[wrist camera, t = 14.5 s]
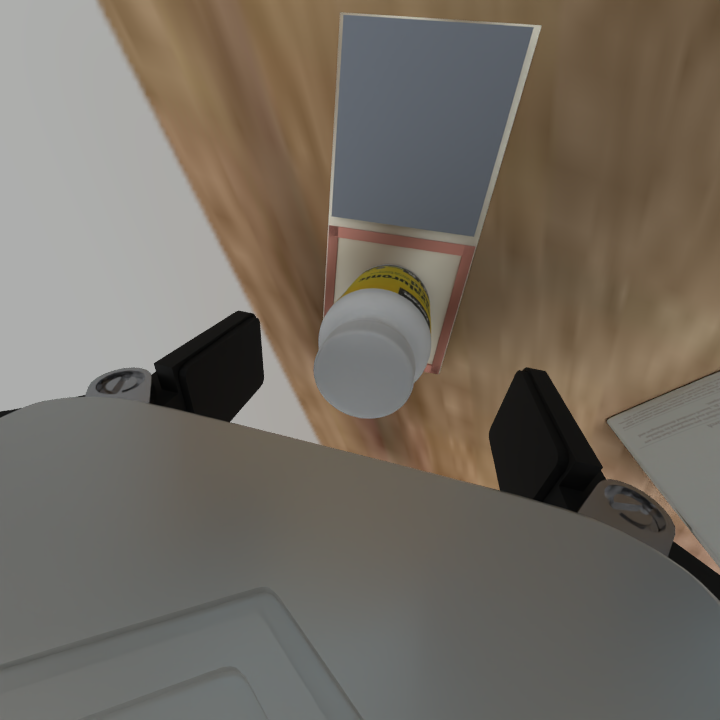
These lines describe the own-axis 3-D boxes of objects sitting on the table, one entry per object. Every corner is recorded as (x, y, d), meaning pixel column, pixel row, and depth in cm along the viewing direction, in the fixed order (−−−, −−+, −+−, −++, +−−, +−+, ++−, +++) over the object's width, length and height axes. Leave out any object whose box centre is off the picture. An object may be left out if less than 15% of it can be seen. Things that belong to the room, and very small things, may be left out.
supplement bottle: (445, 285, 19) (464, 357, 10) (405, 352, 21) (392, 453, 13) (369, 246, 18) (321, 286, 10) (337, 319, 21) (279, 399, 13)
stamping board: (535, 34, 13) (543, 22, 13) (438, 368, 22) (439, 375, 22) (344, 21, 14) (339, 10, 14) (324, 346, 23) (320, 352, 23)
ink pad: (525, 40, 13) (533, 27, 12) (471, 234, 17) (474, 236, 16) (349, 28, 14) (343, 14, 13) (336, 215, 18) (331, 216, 17)
